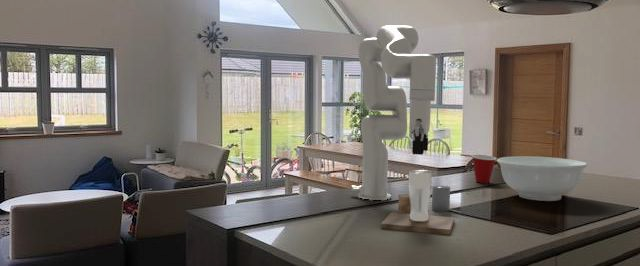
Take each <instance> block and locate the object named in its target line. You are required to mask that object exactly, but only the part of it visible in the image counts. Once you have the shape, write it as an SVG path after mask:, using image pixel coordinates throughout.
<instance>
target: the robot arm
mask: <svg viewBox="0 0 640 266" xmlns="http://www.w3.org/2000/svg"><path fill="white" fill-rule="evenodd" d="M375 36H376V37H370V38H369V37H368V38H364V39H363V40H361V41H360V43H359V46H358V59H359V60H358V61H359V64H360V67H361V70H362V75H363V99H364V103H363V104H364V106H365V108H366V110H368V111H372V112H391V113H392V114H369V115H365V116H364V117H363V118H362V119H361V121H360V130H361V131H360V133H361V140H362V179H361V181H362V183H361V185H359V186H358V185H351V191H352V192H358V193H357V198H358V199H360V198H362V199H361V200H364V199H369V200H368V201H373V200H381V201H388V200H391V199H392V195H391V194H390V193H388V179H389V178H388V175H389V174H388V173H389V171H388V170H389V169H388V168H389V152H388V148H387V147H386V145H385V144H384V143H383V141H391V140H392V141H397V140H398V141H400V140H402V139H404V138H405V137H406V136H407V132H408V106H407V105H408V103H407V95H406V94H407V93H406V92H405V90H404V88H402V87H401V86H398V85H396V86H395V85H393V86H392V85H387V76H388V77H390V78H392V79H407V80H409V99H408V100H409V101H411V108H410V118H409V119H410V121H409V133H410V134H413V137H412V147H411V148H412V150H411V151H412V153H411V154H412V155H421V156H422V155H424V153H425V152H427V151H428V149H429V132H430V128H431V112H432V111H431V109H432V106H431V105H432V102H435V101H436V79H437V78H436V76H437V58H436V56H435V55H433V54H429V53H428V54H425V53H424V54H423V53H422V54H421V53H418V54H417V53H416V54H412V53H413V52H414V51H415V50H416V48H417V46H418V44H419V34H418V31H417V30H416V28H414V27H413V26H411V25H392V24H389V25H384V26H382V27H381V28H379V29H378V31H377V32H376V34H375ZM379 62H380V63H379ZM390 198H391V199H390ZM387 199H388V200H387Z"/></svg>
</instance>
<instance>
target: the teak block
mask: <svg viewBox="0 0 640 266" xmlns="http://www.w3.org/2000/svg"><path fill="white" fill-rule="evenodd" d="M397 207H398V210H397V213H406V214H410V211H411V204H410V197H409V194H401V193H399V194H398V206H397Z"/></svg>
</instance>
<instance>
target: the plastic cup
mask: <svg viewBox="0 0 640 266" xmlns="http://www.w3.org/2000/svg"><path fill="white" fill-rule="evenodd" d="M471 158H472V163H473V171H474V176H475V177H474V178H475V183H477V182H480V183H479V184H489V183H490V181H491V177H492V173H493V168H494V164H495V162H496V161H497V159H498V158H497V157H495V156H491V155H485V154H471ZM488 182H489V183H488Z"/></svg>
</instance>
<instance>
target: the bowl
mask: <svg viewBox="0 0 640 266" xmlns="http://www.w3.org/2000/svg"><path fill="white" fill-rule="evenodd" d="M496 162H497V163H498V164H499V166H500V170H501V176H502V179H503V181H504V183H505V184H506V185H507V186H508V187H509V188H511V189H512V190H514V191H516V192H518V197H519V198H521V199H526V200H530V201H538V202H539V201H541V202H543V201H545V202H555V201H560V200H561V199H562V196H563V195H565V194H567V193H570V192H572V191H573V190H574V189H575V188H576V187H577V186H578V185H579V183H580V181H581V179H582V174H583V171H584V169H585V168H586V167H587V166H588V163H587V162H584V161H580V160H576V159H569V158H561V157H550V156H548V157H547V156H529V155H527V156H524V155H522V156H520V155H519V156H518V155H517V156H503V157H499V158H497V159H496Z"/></svg>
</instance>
